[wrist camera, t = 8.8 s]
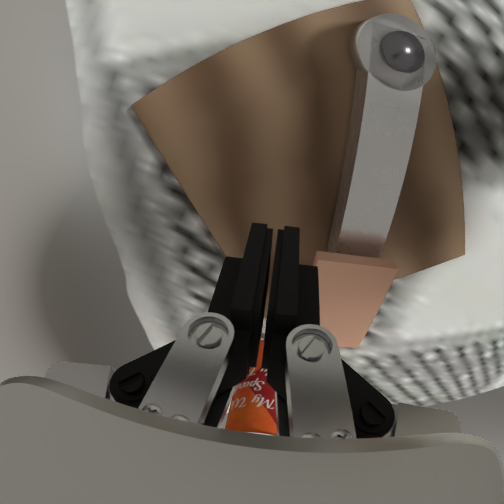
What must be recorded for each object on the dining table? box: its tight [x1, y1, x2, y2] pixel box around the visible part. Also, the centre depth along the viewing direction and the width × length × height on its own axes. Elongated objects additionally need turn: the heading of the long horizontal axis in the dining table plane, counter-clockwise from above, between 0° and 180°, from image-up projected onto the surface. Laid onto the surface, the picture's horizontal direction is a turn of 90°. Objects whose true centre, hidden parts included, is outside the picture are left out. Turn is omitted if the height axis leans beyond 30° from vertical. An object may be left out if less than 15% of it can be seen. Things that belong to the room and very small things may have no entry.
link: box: [326, 13, 436, 258], centre depth 18 cm, size 20×5×4 cm, turn 178°
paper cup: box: [225, 340, 277, 436], centre depth 32 cm, size 8×8×14 cm
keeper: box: [313, 251, 398, 348], centre depth 25 cm, size 10×6×6 cm, turn 176°
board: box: [132, 0, 465, 316], centre depth 22 cm, size 22×24×1 cm
